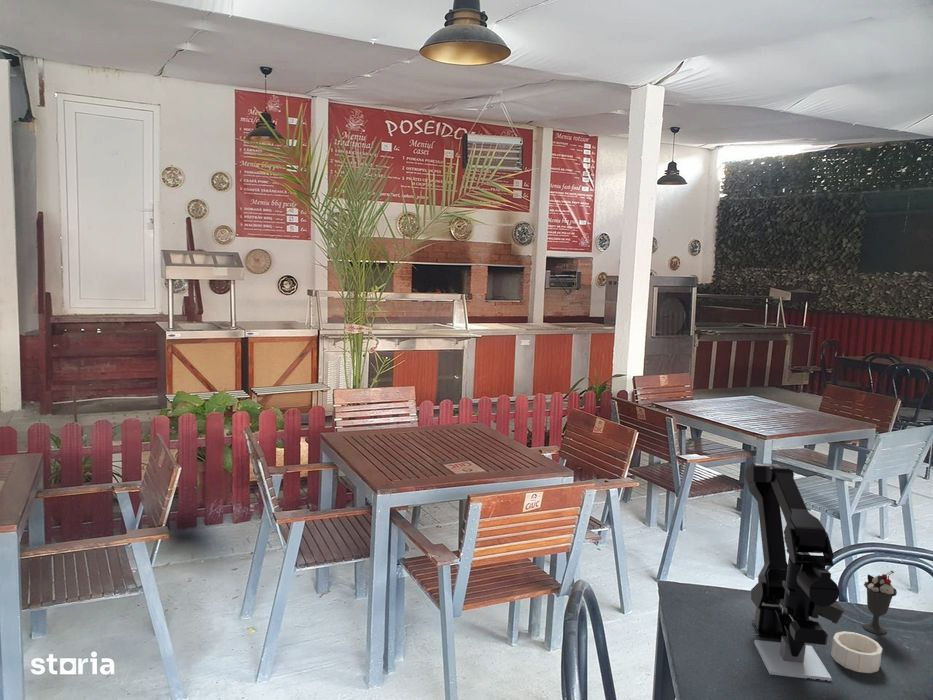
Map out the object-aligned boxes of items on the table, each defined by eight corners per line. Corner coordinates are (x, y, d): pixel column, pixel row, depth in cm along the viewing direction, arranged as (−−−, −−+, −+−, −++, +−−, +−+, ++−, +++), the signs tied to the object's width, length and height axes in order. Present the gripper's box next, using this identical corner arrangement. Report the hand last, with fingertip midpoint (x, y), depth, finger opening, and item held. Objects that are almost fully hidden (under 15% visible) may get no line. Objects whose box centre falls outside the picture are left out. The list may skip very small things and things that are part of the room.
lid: (769, 674, 149) (772, 652, 149) (754, 643, 161) (756, 622, 160) (831, 681, 148) (834, 659, 147) (811, 649, 160) (813, 628, 159)
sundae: (895, 638, 166) (904, 576, 163) (863, 634, 167) (872, 572, 165) (885, 624, 172) (894, 563, 170) (854, 619, 173) (862, 560, 171)
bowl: (841, 670, 152) (843, 652, 151) (825, 646, 161) (827, 629, 160) (886, 675, 151) (889, 657, 150) (868, 651, 160) (871, 634, 159)
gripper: (860, 608, 142) (849, 682, 144) (825, 566, 160) (816, 633, 162) (800, 602, 143) (790, 676, 145) (772, 561, 161) (764, 627, 164)
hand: (792, 652), depth 154 cm, fingers closed on lid, 3 cm apart
